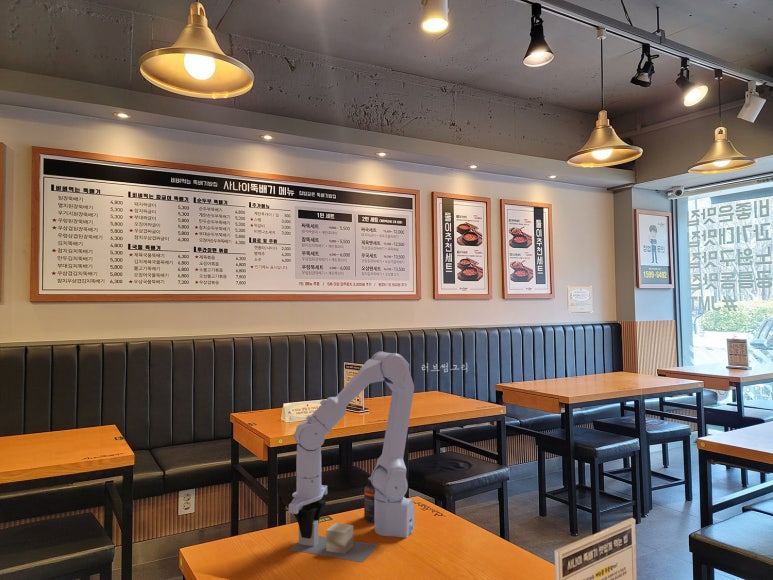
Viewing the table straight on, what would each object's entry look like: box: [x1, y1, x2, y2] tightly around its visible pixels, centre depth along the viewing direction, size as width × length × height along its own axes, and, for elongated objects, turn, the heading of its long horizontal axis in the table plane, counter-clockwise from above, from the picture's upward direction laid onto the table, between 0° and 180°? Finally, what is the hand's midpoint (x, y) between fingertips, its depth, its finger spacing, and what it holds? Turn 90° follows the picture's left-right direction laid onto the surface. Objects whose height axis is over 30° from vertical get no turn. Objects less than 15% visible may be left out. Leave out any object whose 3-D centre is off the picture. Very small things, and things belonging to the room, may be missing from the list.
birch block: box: [325, 522, 354, 554], centre depth 118 cm, size 4×4×4 cm
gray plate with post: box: [288, 520, 379, 563], centre depth 119 cm, size 18×9×6 cm, turn 69°
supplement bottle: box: [363, 476, 375, 524], centre depth 136 cm, size 6×6×11 cm
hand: (309, 535), depth 121 cm, fingers closed on gray plate with post, 2 cm apart
